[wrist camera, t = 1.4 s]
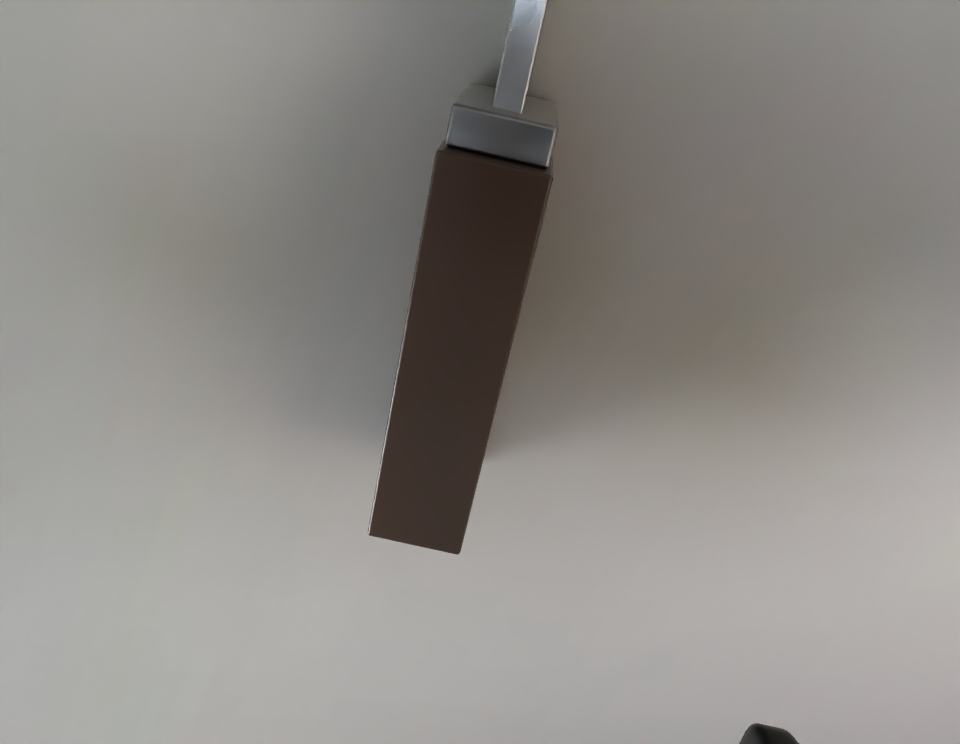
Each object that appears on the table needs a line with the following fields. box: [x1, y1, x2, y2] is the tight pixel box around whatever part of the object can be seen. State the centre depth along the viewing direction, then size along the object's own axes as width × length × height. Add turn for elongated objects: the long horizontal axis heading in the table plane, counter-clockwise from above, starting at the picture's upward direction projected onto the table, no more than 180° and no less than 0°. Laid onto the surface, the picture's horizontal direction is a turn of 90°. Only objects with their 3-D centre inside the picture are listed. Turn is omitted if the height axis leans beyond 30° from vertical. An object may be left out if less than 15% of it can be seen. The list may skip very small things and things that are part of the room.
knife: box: [368, 0, 558, 554], centre depth 15 cm, size 2×22×4 cm, turn 168°
